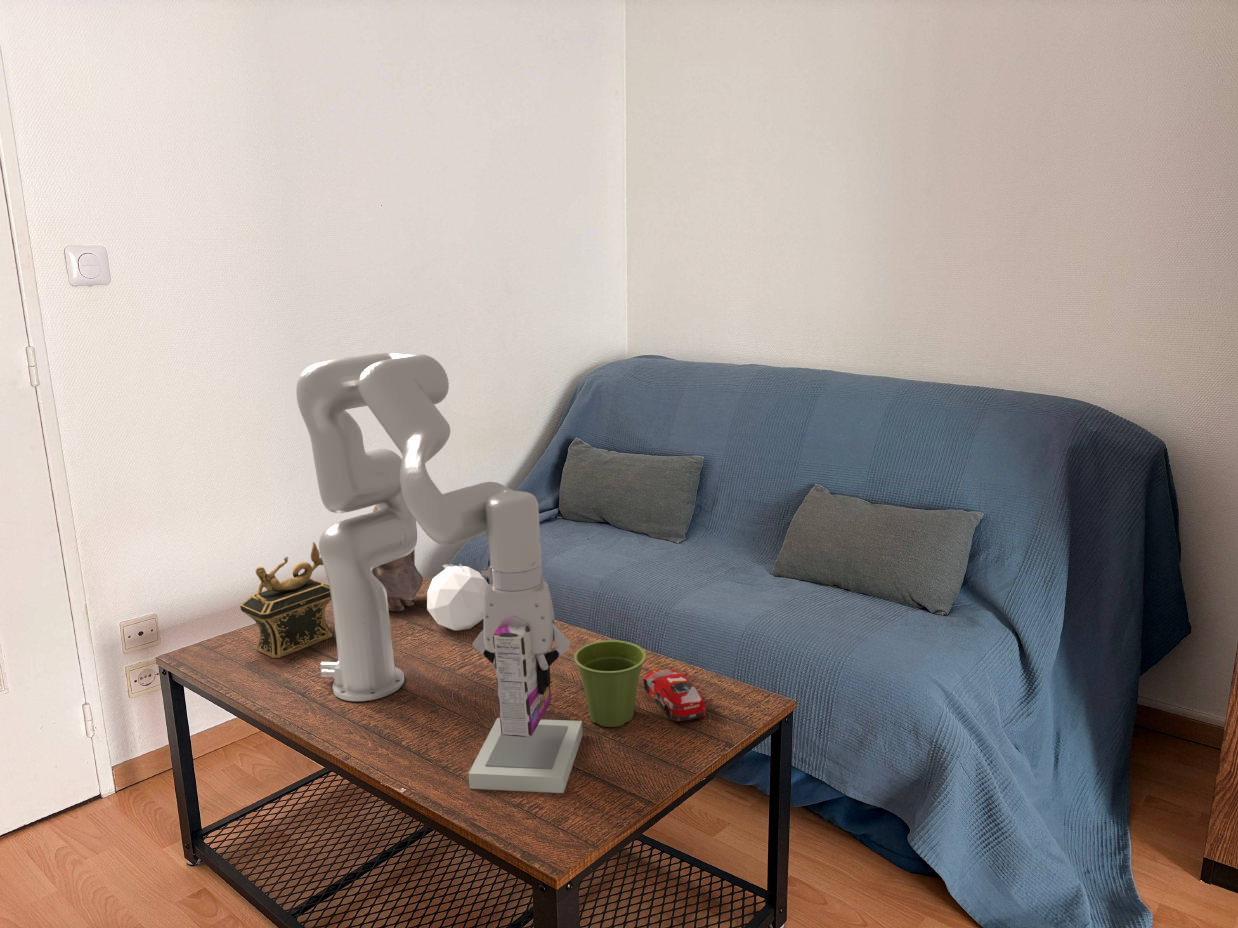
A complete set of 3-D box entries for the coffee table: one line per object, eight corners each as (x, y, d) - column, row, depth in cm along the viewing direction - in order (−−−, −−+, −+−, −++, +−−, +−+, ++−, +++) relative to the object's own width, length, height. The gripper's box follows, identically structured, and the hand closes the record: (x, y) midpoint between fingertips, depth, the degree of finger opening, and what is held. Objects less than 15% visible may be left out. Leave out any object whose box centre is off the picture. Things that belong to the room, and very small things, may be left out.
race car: (639, 685, 163) (638, 660, 162) (674, 679, 165) (673, 654, 164) (672, 728, 148) (672, 701, 147) (710, 721, 150) (710, 693, 149)
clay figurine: (403, 594, 210) (393, 489, 204) (436, 601, 205) (426, 494, 199) (361, 614, 199) (349, 504, 193) (395, 622, 194) (383, 510, 188)
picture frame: (469, 788, 134) (468, 771, 133) (498, 731, 149) (497, 716, 148) (563, 792, 132) (562, 776, 131) (582, 734, 147) (581, 719, 146)
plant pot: (592, 742, 145) (589, 677, 142) (566, 709, 155) (563, 648, 153) (659, 725, 149) (658, 661, 146) (630, 694, 160) (628, 634, 157)
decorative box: (270, 664, 176) (257, 568, 172) (244, 651, 183) (231, 558, 178) (358, 629, 191) (348, 540, 187) (331, 618, 197) (321, 532, 193)
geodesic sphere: (400, 601, 191) (422, 558, 183) (449, 581, 201) (472, 540, 194) (441, 652, 186) (465, 611, 178) (489, 629, 196) (514, 589, 189)
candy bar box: (521, 699, 144) (515, 602, 140) (552, 701, 143) (546, 604, 139) (498, 736, 134) (490, 632, 130) (531, 738, 133) (524, 634, 129)
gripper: (452, 584, 131) (462, 700, 135) (569, 586, 128) (575, 703, 133) (467, 566, 138) (476, 676, 142) (578, 567, 136) (584, 679, 140)
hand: (524, 688), depth 137 cm, fingers closed on candy bar box, 5 cm apart
